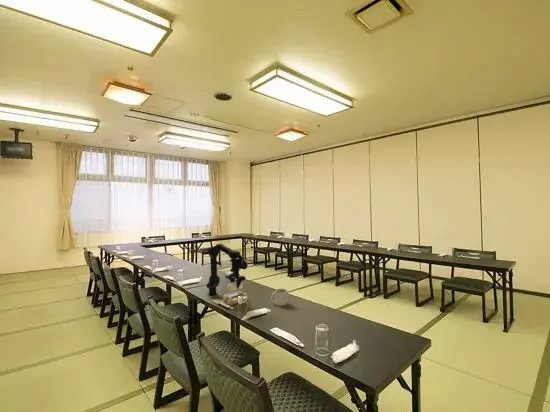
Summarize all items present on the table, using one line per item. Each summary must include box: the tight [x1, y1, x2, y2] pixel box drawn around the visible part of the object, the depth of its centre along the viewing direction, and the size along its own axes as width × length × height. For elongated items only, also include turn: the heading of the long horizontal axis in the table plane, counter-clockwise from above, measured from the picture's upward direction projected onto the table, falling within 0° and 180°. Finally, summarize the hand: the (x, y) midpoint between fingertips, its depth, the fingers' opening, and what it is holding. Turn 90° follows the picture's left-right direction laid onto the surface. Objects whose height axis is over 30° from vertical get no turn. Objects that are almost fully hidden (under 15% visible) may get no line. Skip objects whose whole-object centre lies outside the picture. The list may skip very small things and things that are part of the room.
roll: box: [227, 281, 244, 292], centre depth 213 cm, size 10×6×6 cm, turn 135°
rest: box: [224, 291, 238, 297], centre depth 225 cm, size 9×13×1 cm
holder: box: [222, 290, 248, 306], centre depth 213 cm, size 11×16×5 cm
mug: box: [270, 288, 288, 307], centre depth 207 cm, size 11×10×10 cm
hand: (235, 287), depth 213 cm, fingers closed on roll, 6 cm apart
